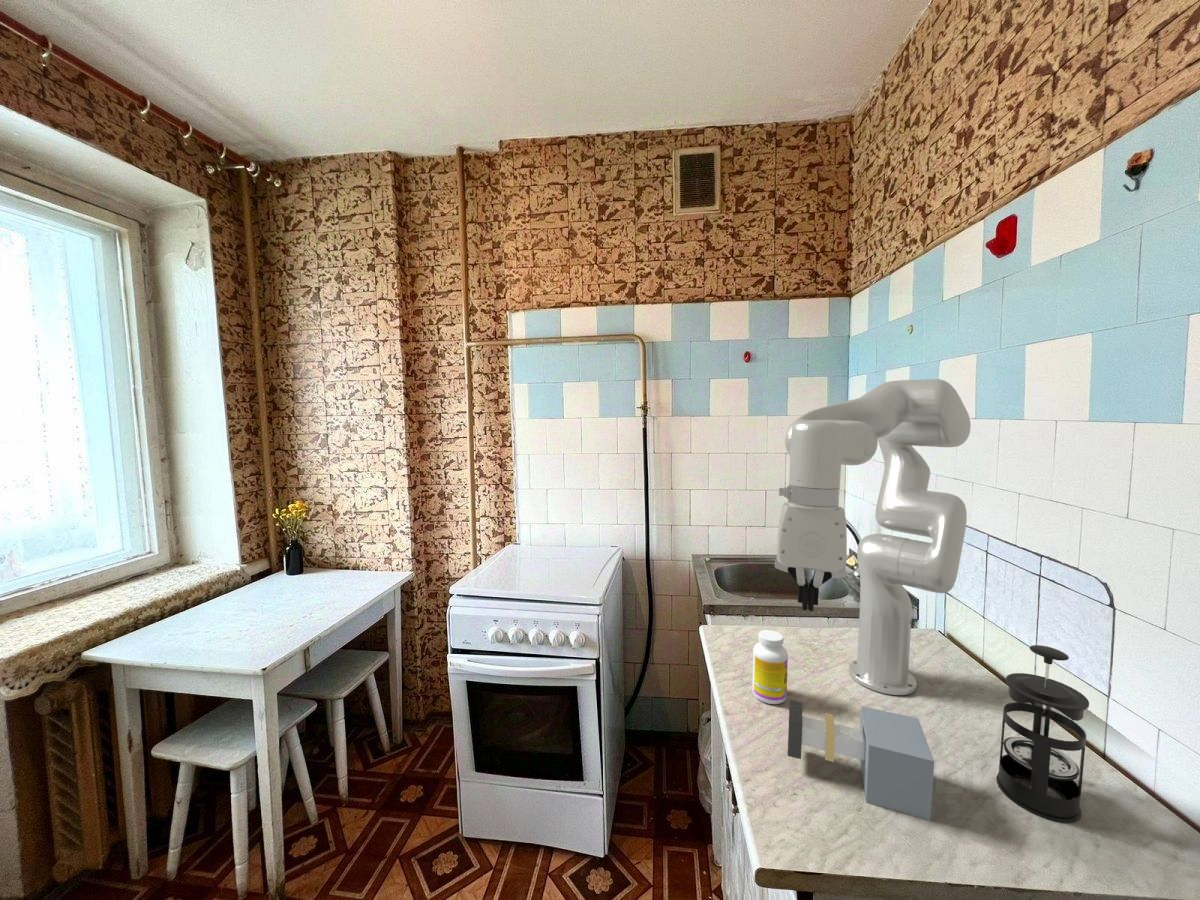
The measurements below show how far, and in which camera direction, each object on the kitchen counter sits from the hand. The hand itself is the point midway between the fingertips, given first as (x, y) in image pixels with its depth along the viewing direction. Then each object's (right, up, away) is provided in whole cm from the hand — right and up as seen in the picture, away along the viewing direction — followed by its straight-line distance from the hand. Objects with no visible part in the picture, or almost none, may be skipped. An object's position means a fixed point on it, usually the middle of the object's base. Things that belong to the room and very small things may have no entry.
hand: (807, 607), depth 77 cm
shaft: (+4, -23, -1) cm, 24 cm away
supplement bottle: (0, -25, +19) cm, 31 cm away
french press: (+32, -27, -6) cm, 42 cm away
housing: (+11, -26, -4) cm, 29 cm away
